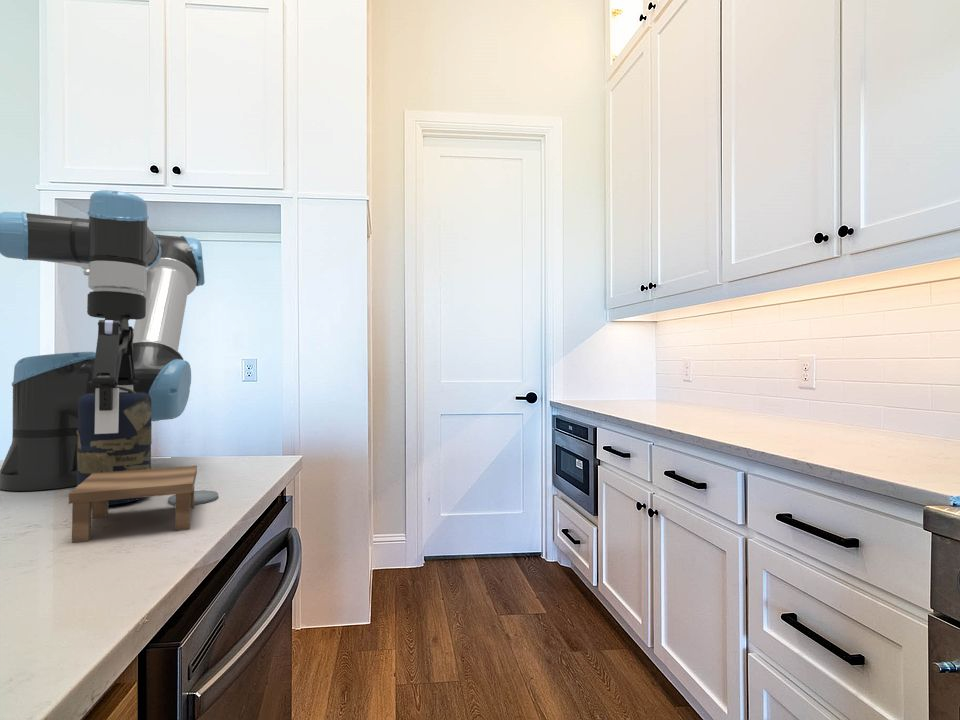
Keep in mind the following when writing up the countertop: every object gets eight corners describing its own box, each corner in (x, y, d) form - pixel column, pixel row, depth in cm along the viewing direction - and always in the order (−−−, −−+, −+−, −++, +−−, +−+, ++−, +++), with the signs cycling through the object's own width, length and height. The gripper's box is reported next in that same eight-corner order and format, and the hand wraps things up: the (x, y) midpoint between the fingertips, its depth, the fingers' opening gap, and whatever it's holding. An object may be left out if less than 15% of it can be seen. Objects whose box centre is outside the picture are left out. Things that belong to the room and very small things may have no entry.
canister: (112, 511, 76) (114, 388, 76) (59, 507, 77) (61, 387, 78) (164, 495, 85) (166, 385, 85) (116, 492, 87) (117, 384, 87)
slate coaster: (170, 496, 84) (170, 493, 84) (218, 492, 87) (218, 488, 87) (165, 507, 78) (165, 503, 78) (218, 502, 81) (218, 498, 81)
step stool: (92, 515, 74) (92, 472, 74) (196, 504, 80) (196, 465, 80) (68, 543, 62) (68, 493, 62) (191, 529, 68) (192, 483, 68)
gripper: (104, 300, 91) (102, 421, 90) (66, 278, 69) (63, 439, 68) (154, 303, 94) (152, 420, 94) (134, 283, 72) (131, 436, 72)
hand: (115, 428), depth 81 cm, fingers open, 13 cm apart
